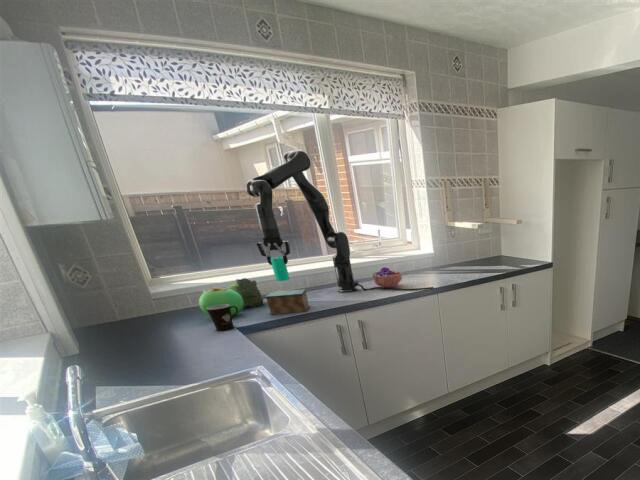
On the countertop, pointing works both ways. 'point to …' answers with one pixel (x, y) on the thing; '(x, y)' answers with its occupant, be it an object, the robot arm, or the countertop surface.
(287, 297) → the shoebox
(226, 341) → the countertop surface
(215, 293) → the green round pot
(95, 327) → the countertop surface
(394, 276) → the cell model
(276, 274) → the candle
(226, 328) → the coffee mug
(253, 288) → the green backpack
